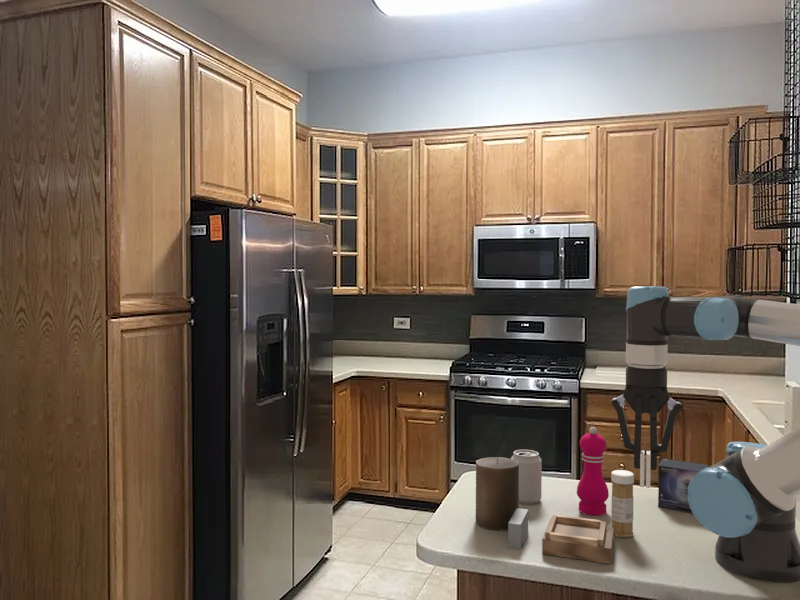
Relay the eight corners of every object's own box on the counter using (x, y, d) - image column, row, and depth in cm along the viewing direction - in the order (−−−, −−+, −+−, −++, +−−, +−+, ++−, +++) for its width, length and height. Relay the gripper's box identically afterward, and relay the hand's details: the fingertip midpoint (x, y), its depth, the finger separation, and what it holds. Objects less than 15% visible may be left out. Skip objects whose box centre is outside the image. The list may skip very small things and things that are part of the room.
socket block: (613, 541, 133) (613, 521, 132) (610, 564, 122) (611, 542, 122) (550, 533, 137) (550, 513, 137) (542, 553, 127) (542, 532, 127)
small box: (657, 508, 152) (657, 464, 152) (661, 499, 158) (661, 457, 158) (705, 516, 147) (706, 471, 147) (708, 507, 153) (709, 464, 152)
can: (522, 492, 163) (522, 446, 163) (547, 500, 158) (547, 452, 157) (504, 499, 158) (504, 451, 158) (529, 507, 153) (529, 458, 152)
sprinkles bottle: (625, 529, 139) (626, 468, 139) (637, 537, 135) (638, 474, 134) (606, 531, 138) (607, 469, 138) (618, 539, 134) (618, 476, 134)
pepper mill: (610, 517, 146) (611, 431, 145) (577, 515, 148) (578, 429, 147) (606, 506, 153) (607, 424, 153) (575, 504, 155) (576, 422, 154)
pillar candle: (518, 532, 138) (518, 463, 138) (472, 528, 140) (473, 460, 140) (519, 516, 147) (520, 452, 147) (477, 513, 149) (477, 449, 149)
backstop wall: (528, 532, 138) (528, 509, 138) (520, 548, 130) (520, 524, 129) (516, 530, 139) (516, 508, 139) (508, 547, 130) (508, 522, 130)
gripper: (683, 364, 125) (681, 483, 126) (611, 361, 130) (610, 476, 131) (685, 369, 118) (683, 495, 119) (609, 366, 123) (608, 487, 124)
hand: (645, 485), depth 125 cm, fingers closed
